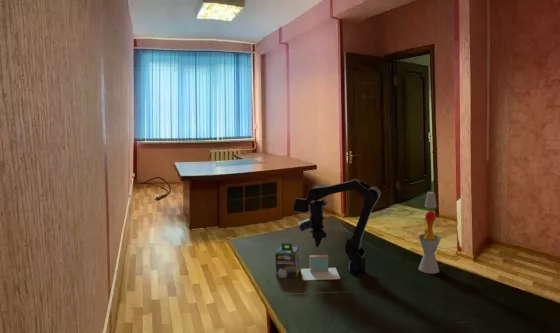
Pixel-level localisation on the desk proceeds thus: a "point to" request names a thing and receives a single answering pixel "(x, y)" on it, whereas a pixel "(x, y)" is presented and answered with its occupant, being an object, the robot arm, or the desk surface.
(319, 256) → the block
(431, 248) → the lava lamp
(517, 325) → the desk surface
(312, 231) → the robot arm
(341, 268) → the desk surface
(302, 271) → the board
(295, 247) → the chalk box
